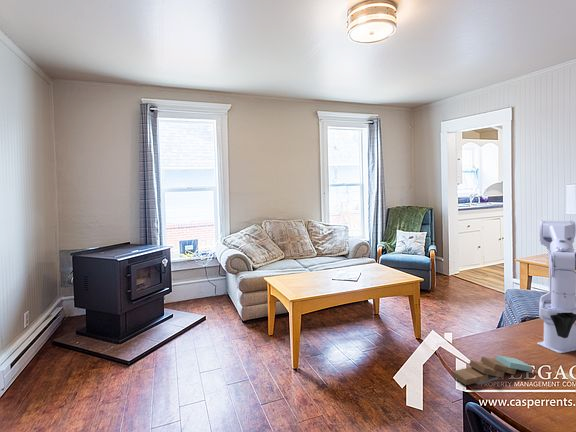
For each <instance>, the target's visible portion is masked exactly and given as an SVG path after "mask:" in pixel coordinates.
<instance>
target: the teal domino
mask: <svg viewBox="0 0 576 432" xmlns="http://www.w3.org/2000/svg"><path fill="white" fill-rule="evenodd" d="M495 360H497V361H498V362H500V363H502V364H504V365H506V366H507V367H509V368H513V369H516V370H519V371H524V372H530V373H531V371H532V366H531V365H530V364H528V363H525V362H523V361H522V360H520V359H518V358H515V357H510V356H509V357H508V356H504V355H500V354H499V355H498V354H497V355H496V358H495Z"/></svg>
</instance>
